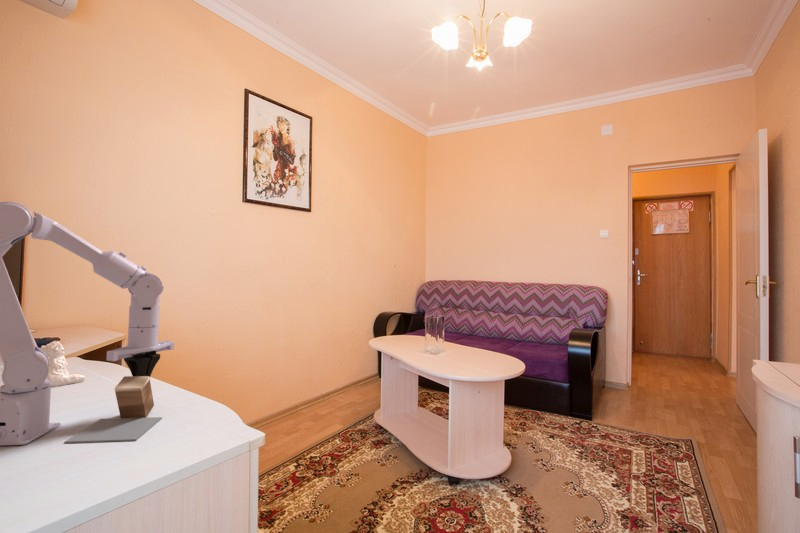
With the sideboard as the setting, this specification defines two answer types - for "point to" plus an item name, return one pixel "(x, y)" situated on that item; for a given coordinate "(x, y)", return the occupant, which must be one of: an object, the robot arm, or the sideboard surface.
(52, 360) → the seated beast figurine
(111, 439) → the slate rubber mat
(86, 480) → the sideboard surface
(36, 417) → the robot arm
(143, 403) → the walnut block
